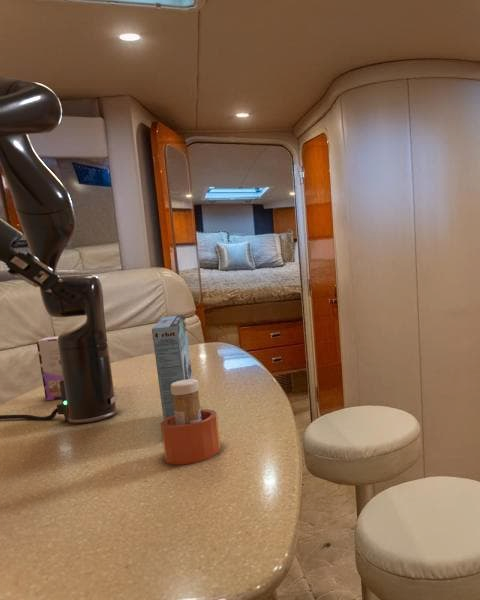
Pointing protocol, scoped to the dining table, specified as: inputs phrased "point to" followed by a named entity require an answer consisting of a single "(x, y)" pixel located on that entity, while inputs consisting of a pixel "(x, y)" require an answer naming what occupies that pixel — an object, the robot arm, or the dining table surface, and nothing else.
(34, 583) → the dining table surface
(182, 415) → the sprinkles bottle
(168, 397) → the gum box
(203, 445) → the cup
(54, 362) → the candy box
